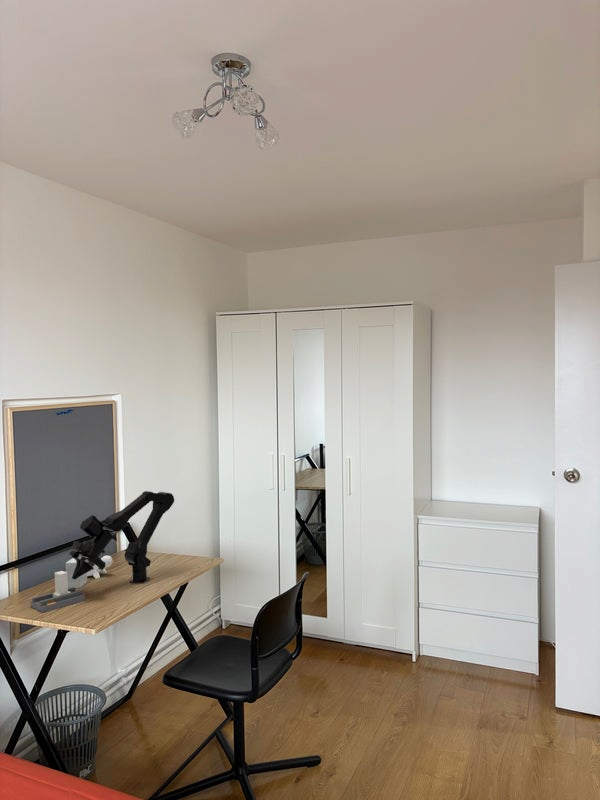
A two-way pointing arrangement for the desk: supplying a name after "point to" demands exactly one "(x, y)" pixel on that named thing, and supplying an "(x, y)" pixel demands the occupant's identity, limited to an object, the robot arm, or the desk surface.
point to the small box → (70, 570)
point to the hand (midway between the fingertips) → (73, 578)
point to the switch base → (57, 600)
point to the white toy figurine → (96, 571)
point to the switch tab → (61, 584)
